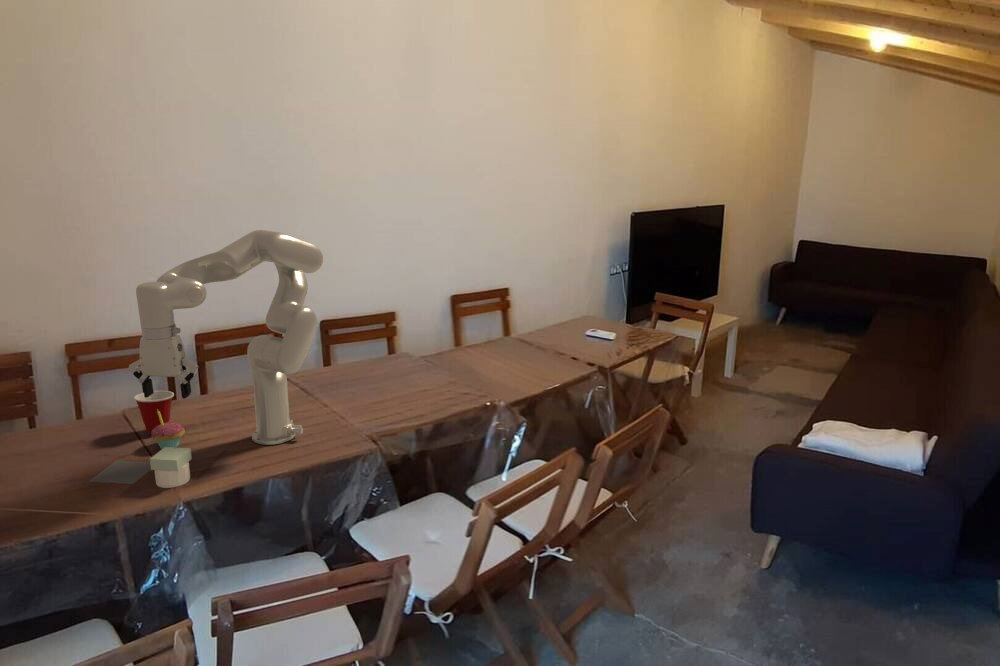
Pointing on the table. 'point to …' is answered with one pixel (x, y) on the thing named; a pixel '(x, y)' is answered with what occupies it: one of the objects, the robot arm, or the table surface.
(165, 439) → the cupcake
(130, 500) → the table surface
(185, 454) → the block
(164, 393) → the plastic cup
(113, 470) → the mat
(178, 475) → the bowl
